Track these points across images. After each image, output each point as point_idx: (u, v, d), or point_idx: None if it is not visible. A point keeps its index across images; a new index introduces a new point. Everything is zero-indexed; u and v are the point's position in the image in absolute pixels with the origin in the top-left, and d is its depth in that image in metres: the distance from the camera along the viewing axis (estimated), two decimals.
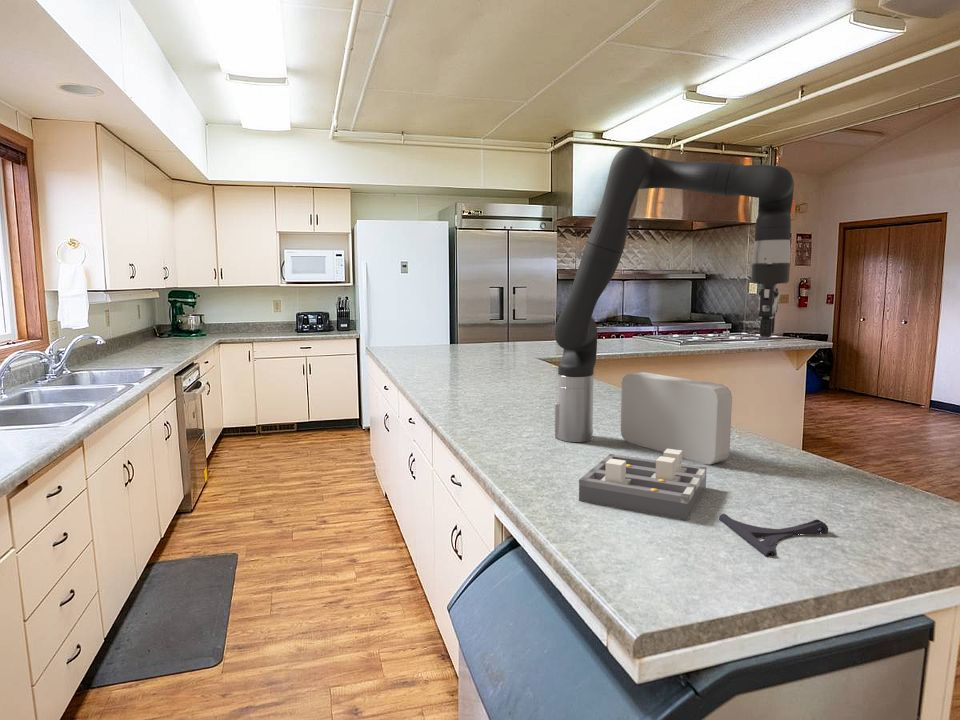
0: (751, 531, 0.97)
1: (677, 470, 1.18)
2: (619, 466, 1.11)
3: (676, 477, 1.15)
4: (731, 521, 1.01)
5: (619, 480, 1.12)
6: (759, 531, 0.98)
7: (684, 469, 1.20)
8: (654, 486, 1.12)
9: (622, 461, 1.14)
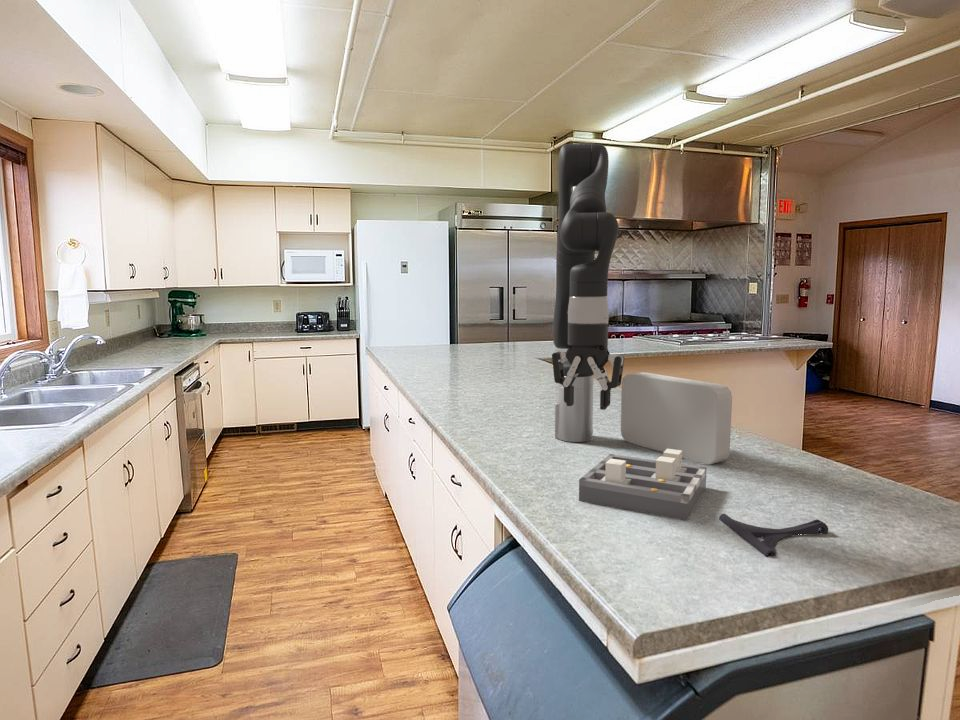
0: (751, 531, 0.97)
1: (677, 470, 1.18)
2: (619, 466, 1.11)
3: (676, 477, 1.15)
4: (731, 521, 1.01)
5: (619, 480, 1.12)
6: (759, 531, 0.98)
7: (684, 469, 1.20)
8: (654, 486, 1.12)
9: (622, 461, 1.14)
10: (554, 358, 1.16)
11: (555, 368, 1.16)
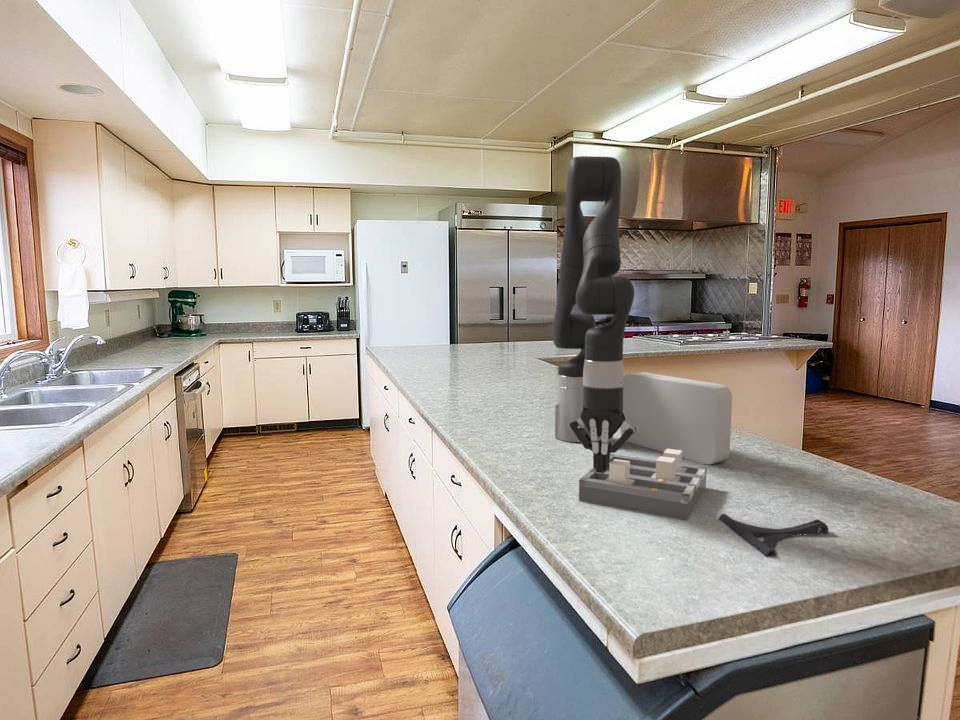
0: (751, 531, 0.97)
1: (677, 470, 1.18)
2: (623, 467, 1.11)
3: (676, 477, 1.15)
4: (731, 521, 1.01)
5: (623, 481, 1.11)
6: (759, 531, 0.98)
7: (684, 469, 1.20)
8: (654, 486, 1.12)
9: (626, 462, 1.13)
10: (573, 427, 1.15)
11: (579, 436, 1.15)
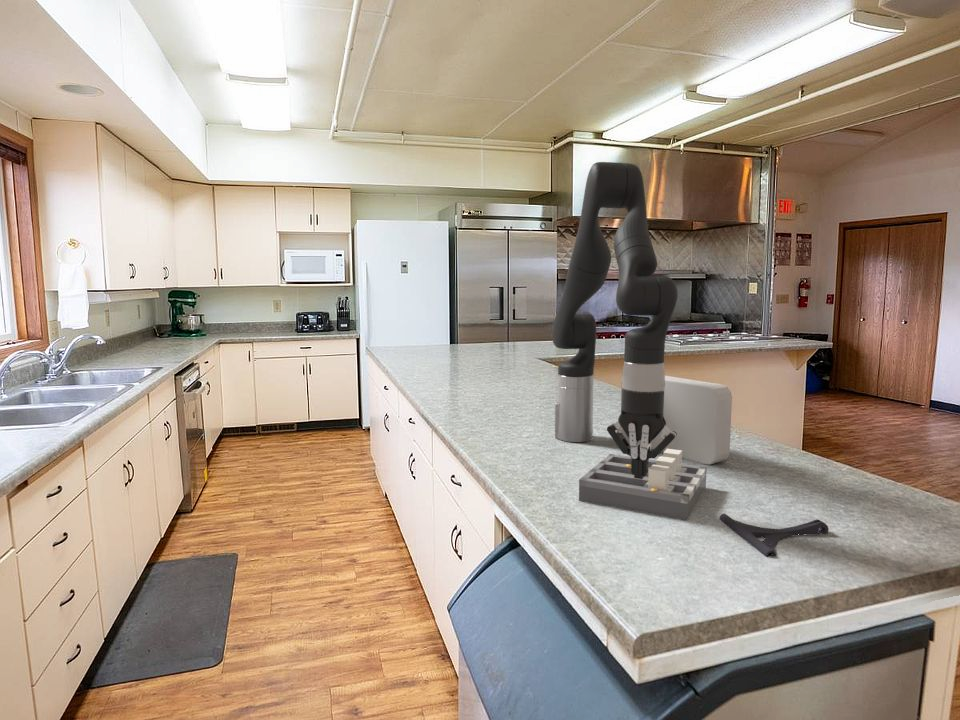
0: (751, 531, 0.97)
1: (677, 470, 1.18)
2: (663, 473, 1.07)
3: (676, 477, 1.15)
4: (731, 521, 1.01)
5: (663, 487, 1.08)
6: (759, 531, 0.98)
7: (684, 469, 1.20)
8: None
9: (665, 467, 1.09)
10: (610, 431, 1.12)
11: (617, 441, 1.11)
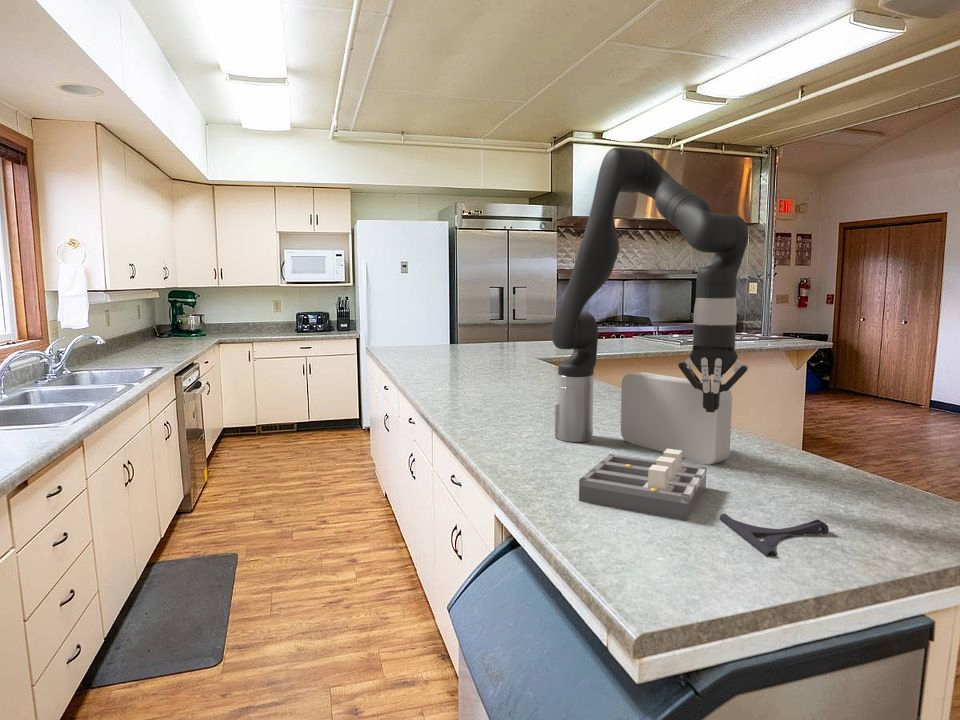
0: (751, 531, 0.97)
1: (677, 470, 1.18)
2: (663, 473, 1.07)
3: (676, 477, 1.15)
4: (731, 521, 1.01)
5: (663, 487, 1.08)
6: (759, 531, 0.98)
7: (684, 469, 1.20)
8: None
9: (665, 467, 1.10)
10: (682, 367, 1.16)
11: (688, 376, 1.15)
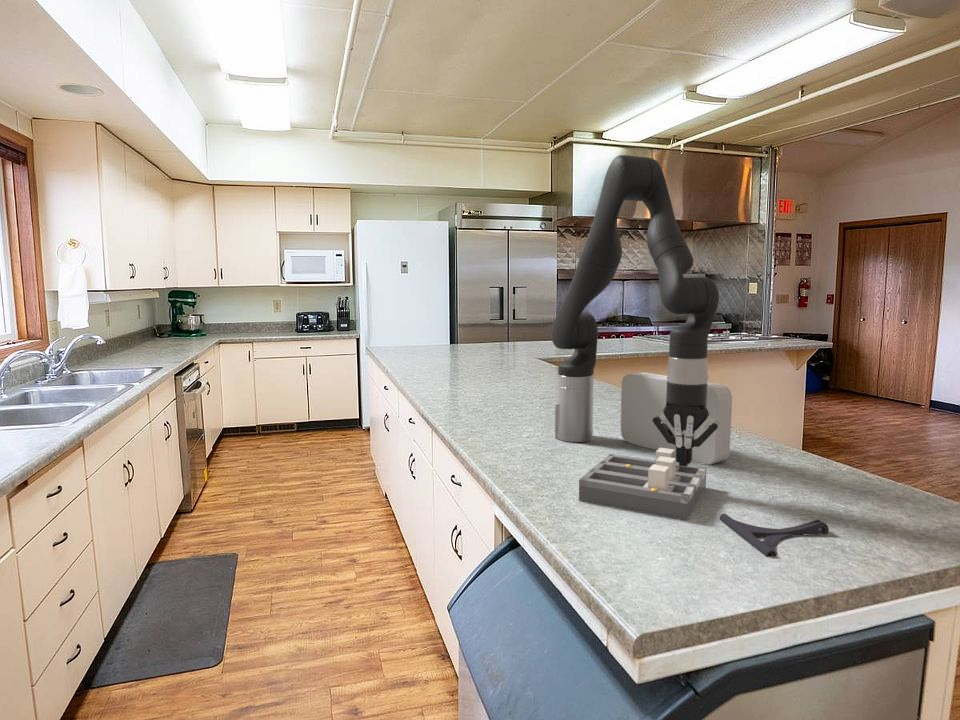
0: (752, 531, 0.97)
1: None
2: (663, 473, 1.07)
3: (676, 477, 1.15)
4: (732, 521, 1.01)
5: (663, 487, 1.08)
6: (760, 531, 0.98)
7: (676, 468, 1.20)
8: None
9: (665, 467, 1.10)
10: (656, 422, 1.20)
11: (662, 431, 1.19)
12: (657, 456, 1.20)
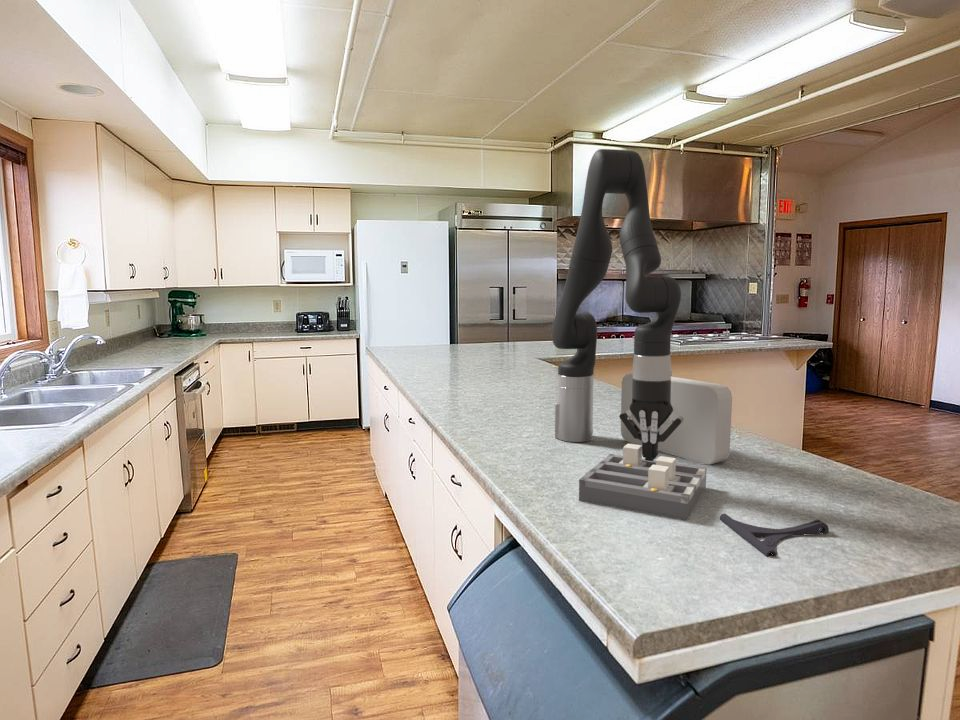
0: (752, 531, 0.97)
1: (636, 464, 1.22)
2: (663, 473, 1.07)
3: (676, 477, 1.15)
4: (732, 521, 1.01)
5: (663, 487, 1.08)
6: (760, 531, 0.98)
7: (644, 463, 1.24)
8: None
9: (665, 467, 1.10)
10: (623, 418, 1.23)
11: (629, 427, 1.23)
12: (624, 452, 1.23)
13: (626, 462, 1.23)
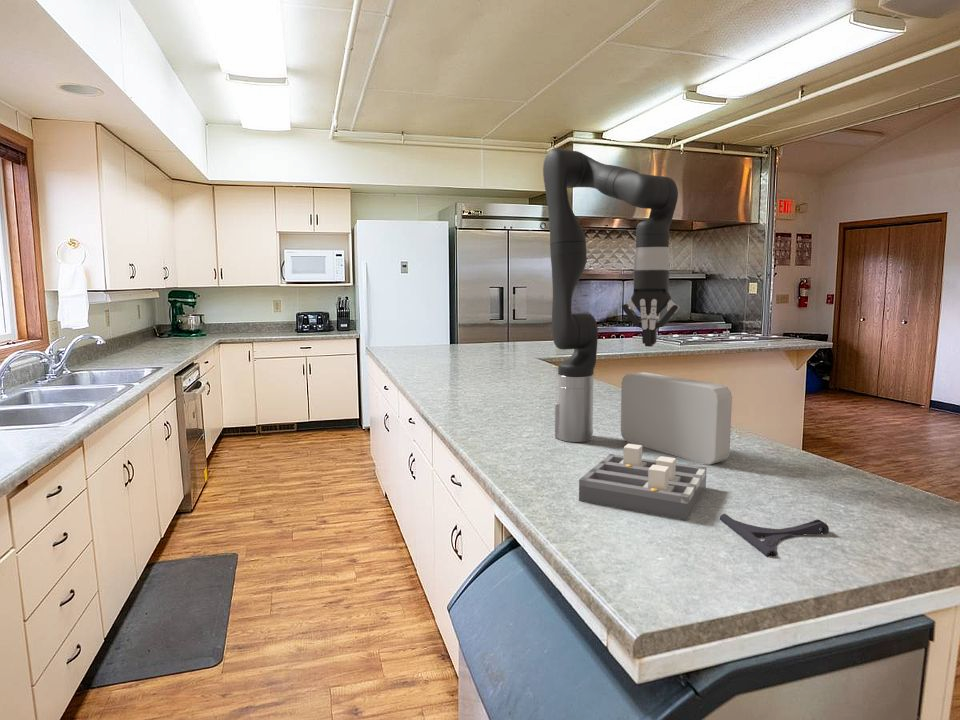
0: (752, 531, 0.97)
1: (637, 464, 1.22)
2: (663, 473, 1.07)
3: (676, 477, 1.15)
4: (732, 521, 1.01)
5: (663, 487, 1.08)
6: (760, 531, 0.98)
7: (644, 463, 1.24)
8: None
9: (665, 467, 1.10)
10: (625, 309, 1.35)
11: (630, 316, 1.35)
12: (625, 452, 1.23)
13: (626, 462, 1.23)
